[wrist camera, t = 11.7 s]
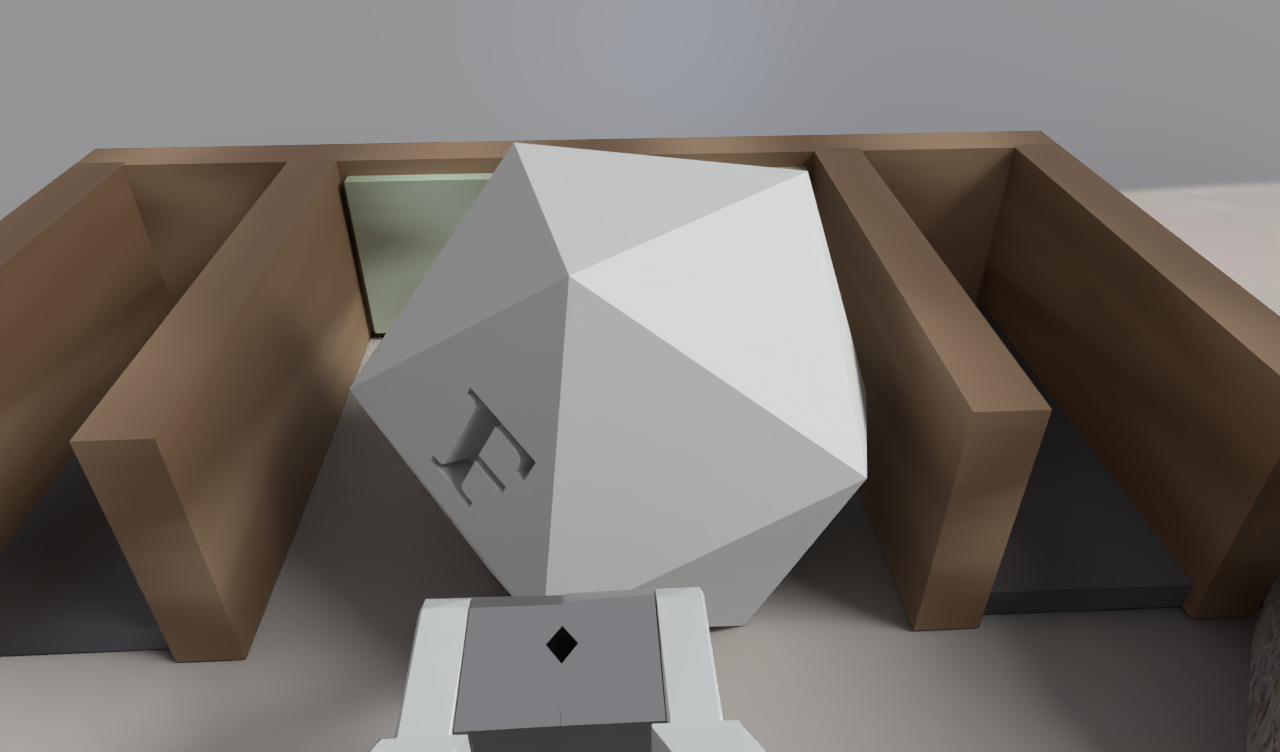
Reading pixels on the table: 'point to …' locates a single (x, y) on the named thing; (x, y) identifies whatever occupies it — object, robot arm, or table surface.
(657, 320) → the die
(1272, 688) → the geological specimen
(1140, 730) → the table surface
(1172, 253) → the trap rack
